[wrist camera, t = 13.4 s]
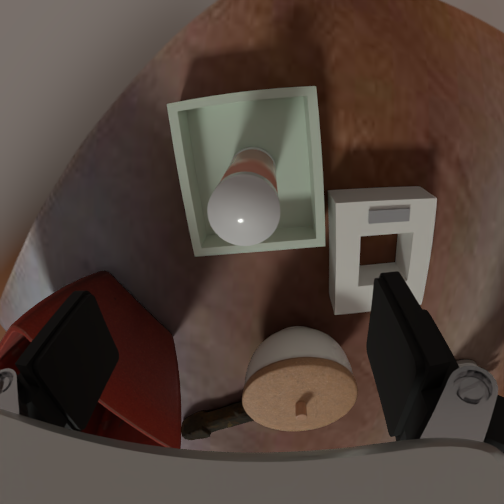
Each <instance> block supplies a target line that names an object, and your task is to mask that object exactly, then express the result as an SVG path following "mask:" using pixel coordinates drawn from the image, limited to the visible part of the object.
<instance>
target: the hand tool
mask: <svg viewBox="0 0 504 504" xmlns="http://www.w3.org/2000/svg"><path fill="white" fill-rule="evenodd" d="M250 421H254V420H253V419H252V418H251V417H250V416H249V415H248V414H247V413H246V411H245V410H244V407H243V405H242V402H239V403H235V404H232V405H230V406H226V407H223V408H221V409H217V410H214V411H211V412H207V411H200V412H197V413H195V414H193V415H191V416H189V417H188V418H186V419H185V420H184V421H183V422H182V426H181V433H182V437H184V438H185V439H188V440H195V439H203V438H207V437H210V434H211V432H214V431H217V430H220V429H225V428H228V427H232V426H236V425H239V424H243V423H246V422H250Z"/></svg>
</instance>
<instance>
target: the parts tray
mask: <svg viewBox="0 0 504 504" xmlns="http://www.w3.org/2000/svg"><path fill="white" fill-rule="evenodd" d="M167 109H168V116H169V122H170V128H171V135H172V141H173V147H174V153H175V158H176V164H177V170H178V175H179V181H180V186H181V192H182V197H183V202H184V207H185V212H186V217H187V222H188V227H189V232H190V237H191V242H192V247H193V251H194V256H195V257H198V256H210V255H223V254H235V253H247V252H260V251H272V250H285V249H297V248H309V247H322V246H325V211H324V186H323V167H322V150H321V136H320V123H319V111H318V100H317V90H316V86H305V87H288V88H275V89H264V90H254V91H245V92H237V93H229V94H222V95H215V96H209V97H202V98H196V99H191V100H185V101H180V102H175V103H170V104H167ZM249 146H257V147H261V148H263V149H265V150H267V151H268V152H269V153H270V154H271V155H272V157H273V159H274V161H275V165H276V180H277V190H278V197H279V203H280V220H279V223H278V226H277V228H276V229H275V231H274V232H273V234H272V235H271V236H270V237H269V238H267V239H266V240H264V241H263V242H261V243H258V244H255V245H251V246H238V245H234V244H231V243H229V242H226V241H225V240H223V239H222V238H220V237H219V236H218V235H217V234H216V233H215V231H214V230H213V229H212V227H211V225H210V222H209V219H208V214H207V208H208V203H209V199H210V197H211V195H212V193H213V192H214V190H215V188H216V187H217V185H218V184H219V183H220V181H221V179H222V177H223V176H224V174H225V172H226V170H227V169H228V167H229V165H230V163H231V161H232V159H233V157H234V156H235V154H236V153H237V152H238V151H240V150H241V149H243V148H245V147H249Z"/></svg>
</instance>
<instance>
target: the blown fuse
mask: <svg viewBox="0 0 504 504" xmlns="http://www.w3.org/2000/svg"><path fill="white" fill-rule="evenodd" d="M207 214H208V219H209V222H210V225H211V227H212V229H213V230H214V231H215V233H216V234H217V235H218V236H219V237H220V238H222V239H223V240H225V241H226V242H229V243H231V244H234V245H238V246H251V245H255V244H258V243H261V242H263V241H264V240H266V239H267V238H269V237H270V236H271V235H272V234H273V232H274V231H275V229H276V228H277V226H278V223H279V220H280V203H279V197H278V190H277V180H276V165H275V161H274V159H273V157H272V155H271V154H270V153H269V152H268V151H267V150H265V149H263V148H261V147H257V146H249V147H245V148H243V149H241V150H240V151H238V152H237V153H236V154H235V156H234V157H233V159H232V161H231V163H230V165H229V167H228V169H227V170H226V172H225V174H224V176H223V177H222V179H221V181H220V183H219V184H218V185H217V187H216V188H215V190H214V192H213V193H212V195H211V197H210V199H209V203H208V208H207Z"/></svg>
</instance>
